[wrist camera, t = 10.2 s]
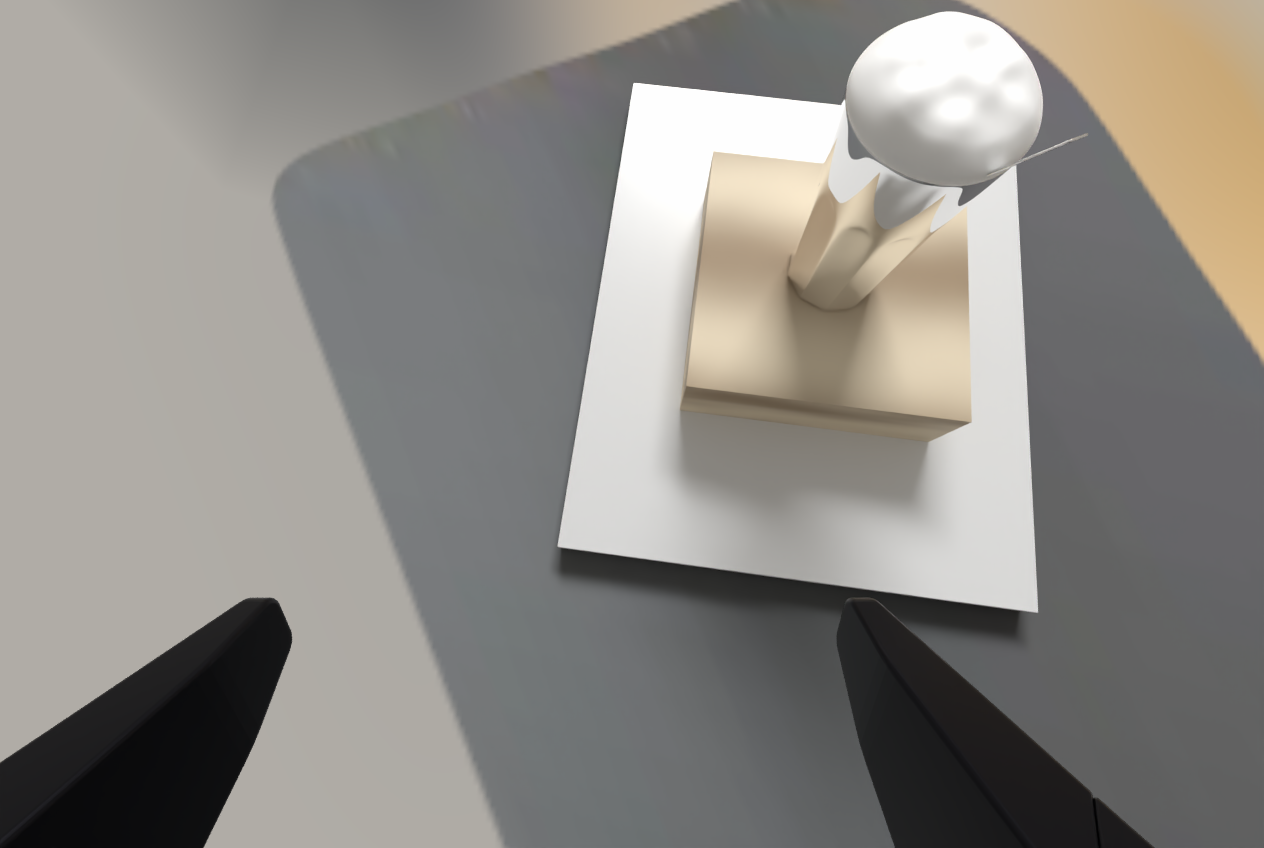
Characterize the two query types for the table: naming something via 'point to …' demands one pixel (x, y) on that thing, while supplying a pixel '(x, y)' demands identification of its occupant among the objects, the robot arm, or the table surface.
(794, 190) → the plinth
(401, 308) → the table surface
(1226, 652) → the table surface
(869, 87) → the milkshake
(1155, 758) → the table surface
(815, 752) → the table surface
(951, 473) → the baseplate
